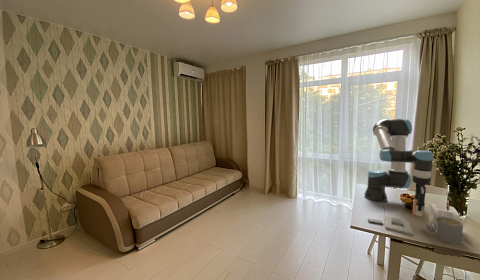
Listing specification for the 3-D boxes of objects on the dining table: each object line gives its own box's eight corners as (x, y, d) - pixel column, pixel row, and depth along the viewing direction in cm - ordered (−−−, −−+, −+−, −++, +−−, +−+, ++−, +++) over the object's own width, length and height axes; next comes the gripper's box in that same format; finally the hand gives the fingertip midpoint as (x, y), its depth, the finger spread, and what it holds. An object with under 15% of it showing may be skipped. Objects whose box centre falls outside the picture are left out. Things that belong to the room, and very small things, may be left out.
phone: (367, 219, 122) (367, 218, 122) (381, 222, 119) (381, 220, 119) (368, 222, 119) (368, 220, 119) (382, 225, 116) (382, 223, 116)
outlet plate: (384, 217, 125) (384, 215, 125) (408, 222, 118) (408, 220, 118) (385, 228, 112) (385, 226, 112) (412, 235, 105) (412, 233, 105)
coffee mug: (457, 236, 104) (459, 219, 103) (464, 246, 96) (466, 228, 95) (423, 229, 111) (425, 212, 110) (427, 237, 103) (429, 220, 102)
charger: (412, 211, 118) (413, 198, 117) (422, 213, 116) (423, 200, 114) (413, 214, 115) (414, 201, 113) (423, 216, 112) (425, 203, 111)
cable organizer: (459, 236, 104) (461, 216, 103) (432, 229, 111) (433, 210, 109) (451, 224, 116) (453, 205, 115) (427, 218, 122) (428, 201, 121)
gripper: (411, 171, 121) (407, 206, 124) (415, 179, 107) (411, 218, 110) (427, 173, 117) (423, 209, 120) (434, 182, 103) (429, 222, 106)
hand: (418, 213), depth 115 cm, fingers closed on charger, 4 cm apart
